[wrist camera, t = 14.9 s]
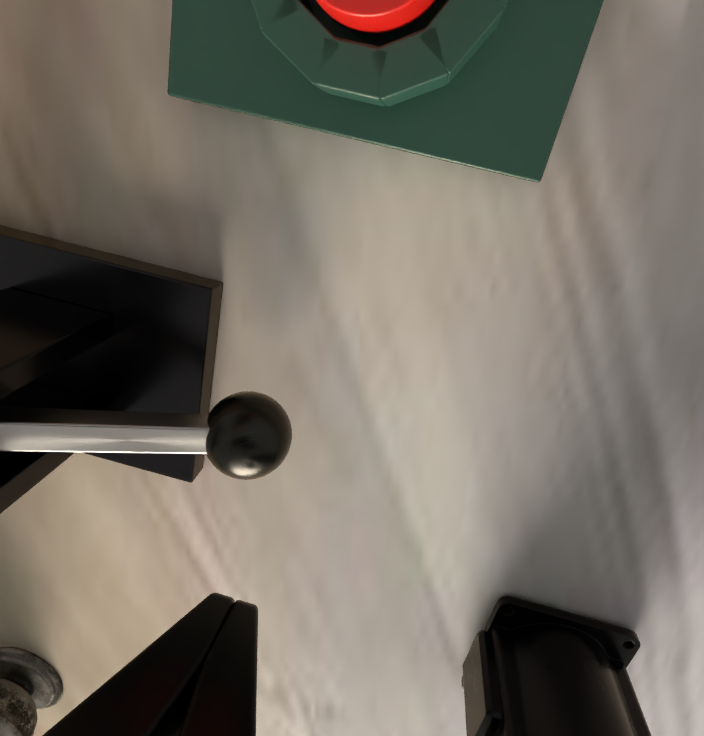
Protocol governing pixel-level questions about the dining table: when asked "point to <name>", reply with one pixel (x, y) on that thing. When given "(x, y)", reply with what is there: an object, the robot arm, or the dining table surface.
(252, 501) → the dining table surface
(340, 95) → the button block
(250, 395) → the switch lever
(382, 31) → the button
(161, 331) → the switch bracket
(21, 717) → the salt shaker
